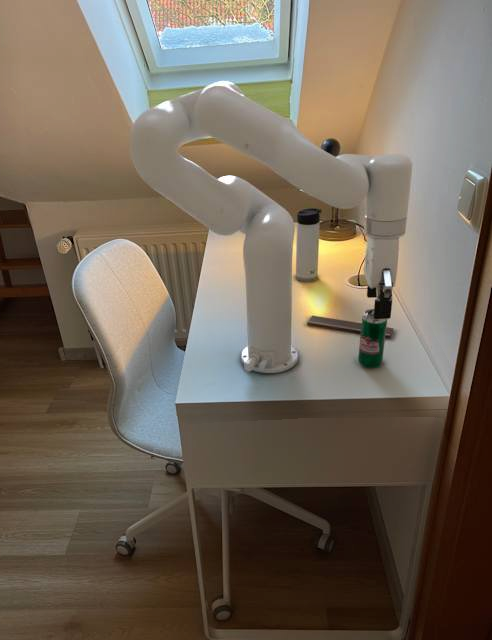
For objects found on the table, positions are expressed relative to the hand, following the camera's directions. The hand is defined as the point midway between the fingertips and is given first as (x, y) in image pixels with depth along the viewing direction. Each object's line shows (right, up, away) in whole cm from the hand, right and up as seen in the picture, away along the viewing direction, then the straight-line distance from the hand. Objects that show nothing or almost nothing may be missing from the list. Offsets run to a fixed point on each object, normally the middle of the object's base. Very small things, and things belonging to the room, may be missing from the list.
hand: (378, 307), depth 111 cm
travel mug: (-7, +13, +48) cm, 50 cm away
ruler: (-1, -3, +21) cm, 21 cm away
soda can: (0, -12, +7) cm, 14 cm away
